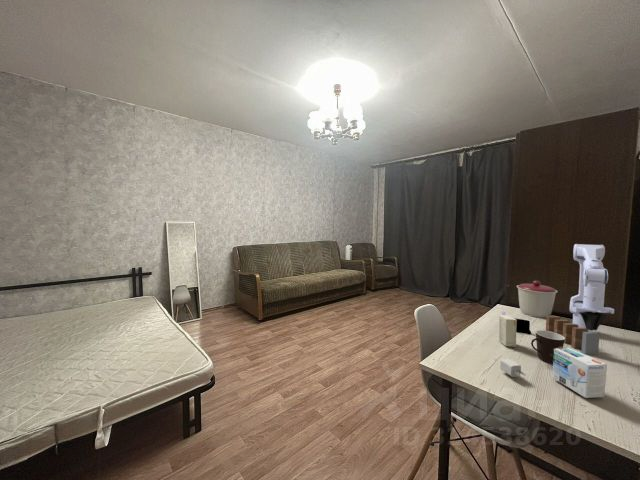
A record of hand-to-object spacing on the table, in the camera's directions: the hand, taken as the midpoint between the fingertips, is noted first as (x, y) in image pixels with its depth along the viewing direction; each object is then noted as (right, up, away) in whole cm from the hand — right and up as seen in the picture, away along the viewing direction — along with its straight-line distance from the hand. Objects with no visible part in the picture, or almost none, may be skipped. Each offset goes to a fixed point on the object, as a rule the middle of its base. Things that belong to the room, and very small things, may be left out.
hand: (591, 329), depth 102 cm
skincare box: (-28, -10, +10) cm, 31 cm away
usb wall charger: (-43, -12, -14) cm, 47 cm away
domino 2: (+1, -10, +14) cm, 17 cm away
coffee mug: (-23, -11, -3) cm, 25 cm away
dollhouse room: (-11, -9, +26) cm, 30 cm away
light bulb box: (-27, -12, -20) cm, 36 cm away
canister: (+15, -8, +44) cm, 47 cm away
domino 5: (0, -10, +1) cm, 10 cm away
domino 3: (+1, -10, +10) cm, 14 cm away
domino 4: (0, -10, +5) cm, 11 cm away
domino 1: (+1, -9, +19) cm, 21 cm away
